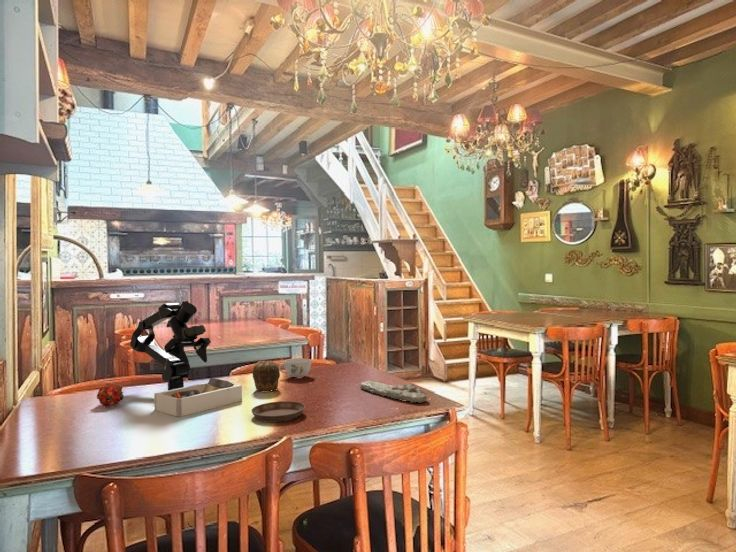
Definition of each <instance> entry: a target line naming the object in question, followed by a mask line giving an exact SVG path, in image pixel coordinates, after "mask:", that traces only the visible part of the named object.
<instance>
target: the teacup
mask: <svg viewBox="0 0 736 552" xmlns="http://www.w3.org/2000/svg"><path fill="white" fill-rule="evenodd" d="M312 361H313V360H312V359H310V358H304V357H296V358H289V359H285V360H284V363H283V362H282V363H280V364H279V365H278V368H279V372H280V373H282V374H287V375H289V376H290V377H291V378H292V377H303V376H305V375H306V376H307V375H308V373H309V372H310V370H311V367H312ZM282 367H284V369H285V370H286V371H285V370H283V369H281V368H282ZM306 376H305V377H306Z"/></svg>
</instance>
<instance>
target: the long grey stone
mask: <svg viewBox="0 0 736 552" xmlns="http://www.w3.org/2000/svg"><path fill="white" fill-rule="evenodd" d="M359 386H360V388H361V389H360V390H363V389H364V391H366V390H368V391H367V392H369V391H370V392H369V393H371V392H373V393H374V394H375V393H376V394H375V395H377V394H380V395H382V396H381V397H384V396H387V397H386V398H390V397H391V399H392V398H396V399H401V400H406V401H410V402H409V403H416V402H418V403H419V404H420V403H421V404H422V403H425V402H426V401H427V400H428V396H427V393H426V392H424V391H423V389H421V388H418V387H417V386H415V384H414V383H410V384H409V383H408V384H401V385H391V384H388V383H382V382H378V381H375V380H366V381H363V382H361V383H360V385H359ZM373 393H372V394H373ZM380 395H379V396H380Z"/></svg>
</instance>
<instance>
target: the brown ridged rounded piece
mask: <svg viewBox="0 0 736 552" xmlns="http://www.w3.org/2000/svg"><path fill="white" fill-rule="evenodd" d="M280 376H281V372H280V370H279V365H278V364H277V363H276V362H274V361H272V360H267V361H266V360H259V361H257V362H256V363H255V364H254V366H253V369H252V378H253V383H254V386H255V390H256V391H258V392H260V391H271V390H275V391H277V390H276V389H278V387H279V386H278V385H279V379H280ZM271 392H272V391H271Z"/></svg>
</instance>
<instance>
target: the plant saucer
mask: <svg viewBox="0 0 736 552" xmlns="http://www.w3.org/2000/svg"><path fill="white" fill-rule="evenodd" d="M305 408H306V406H305V404H304V403H302V402H297V401H285V400H284V401H283V400H282V401H273V402H265V403H262V404H259V405H256V406H254V407H252V409H251V410H250V411H251V413H252V415H253V416H254V417H255V418H256V420H258V421H260V420H261V422H264V421H265V423H282V421H284V422H288V421H287V420H289V421H292V420H291V419H293V420H295V419H297V418H299V417H300V416H301V415H302V413H303V412H304V410H305ZM285 411H286V412H285ZM298 416H299V417H298ZM294 418H295V419H294Z"/></svg>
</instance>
